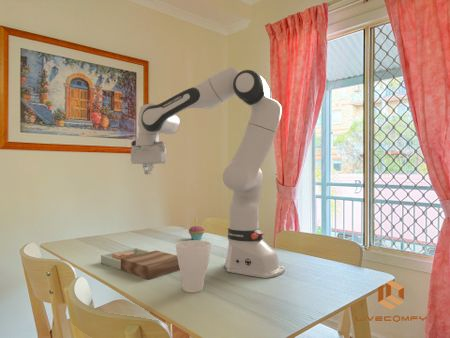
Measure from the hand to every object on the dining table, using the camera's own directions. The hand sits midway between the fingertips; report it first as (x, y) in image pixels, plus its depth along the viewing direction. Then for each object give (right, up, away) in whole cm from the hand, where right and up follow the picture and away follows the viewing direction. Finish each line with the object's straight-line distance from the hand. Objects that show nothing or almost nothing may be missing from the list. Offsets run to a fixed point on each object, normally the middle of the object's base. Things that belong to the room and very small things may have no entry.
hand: (148, 174), depth 136 cm
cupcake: (+18, -35, +31) cm, 50 cm away
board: (+7, -34, -22) cm, 41 cm away
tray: (-4, -34, -13) cm, 36 cm away
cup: (+24, -34, -41) cm, 58 cm away
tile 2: (-4, -31, -17) cm, 36 cm away
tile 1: (-7, -30, -14) cm, 34 cm away
